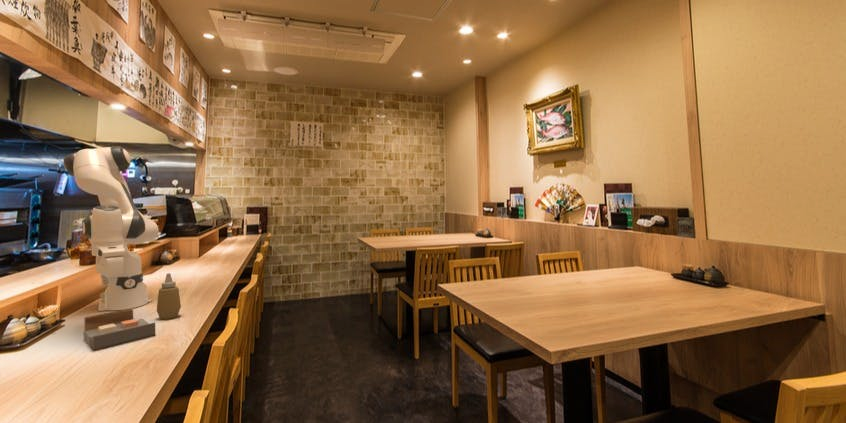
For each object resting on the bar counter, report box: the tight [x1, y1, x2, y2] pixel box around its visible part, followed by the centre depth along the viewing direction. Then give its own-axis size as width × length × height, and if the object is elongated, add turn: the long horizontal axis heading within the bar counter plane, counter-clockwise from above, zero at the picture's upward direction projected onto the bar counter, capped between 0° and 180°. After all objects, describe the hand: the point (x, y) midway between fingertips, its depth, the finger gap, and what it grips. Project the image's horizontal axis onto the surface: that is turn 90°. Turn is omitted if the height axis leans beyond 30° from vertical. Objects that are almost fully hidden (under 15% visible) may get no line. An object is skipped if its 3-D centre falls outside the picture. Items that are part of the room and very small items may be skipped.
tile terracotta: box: [121, 318, 138, 328], centre depth 124 cm, size 4×4×2 cm
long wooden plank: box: [84, 308, 134, 331], centre depth 128 cm, size 3×13×6 cm, turn 143°
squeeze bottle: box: [156, 273, 182, 320], centre depth 142 cm, size 8×8×18 cm
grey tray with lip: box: [83, 318, 156, 352], centre depth 120 cm, size 14×16×4 cm
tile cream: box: [98, 324, 117, 334], centre depth 119 cm, size 4×4×2 cm
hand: (109, 287), depth 128 cm, fingers open, 8 cm apart
